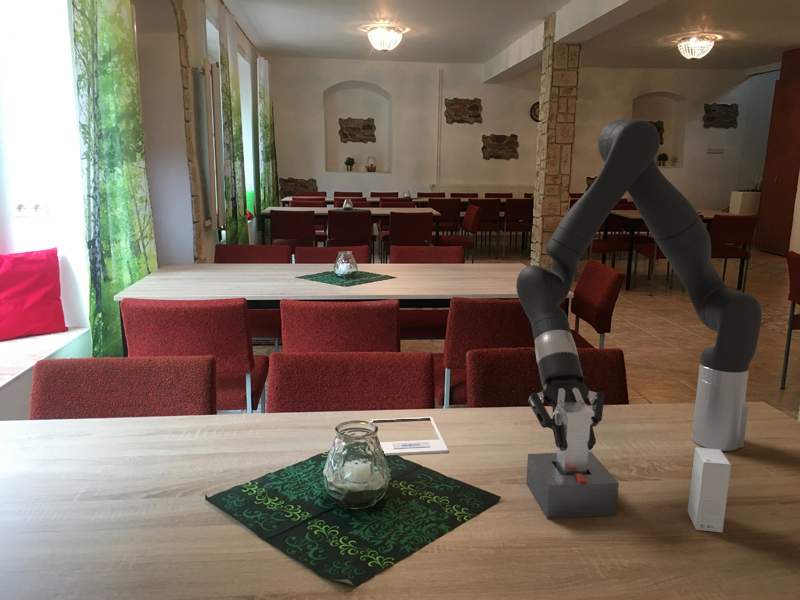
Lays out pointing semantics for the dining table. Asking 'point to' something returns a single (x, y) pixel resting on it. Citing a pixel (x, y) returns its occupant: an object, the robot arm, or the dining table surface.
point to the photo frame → (414, 443)
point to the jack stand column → (574, 438)
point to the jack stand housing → (571, 488)
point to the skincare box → (709, 489)
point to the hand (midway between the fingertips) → (577, 448)
